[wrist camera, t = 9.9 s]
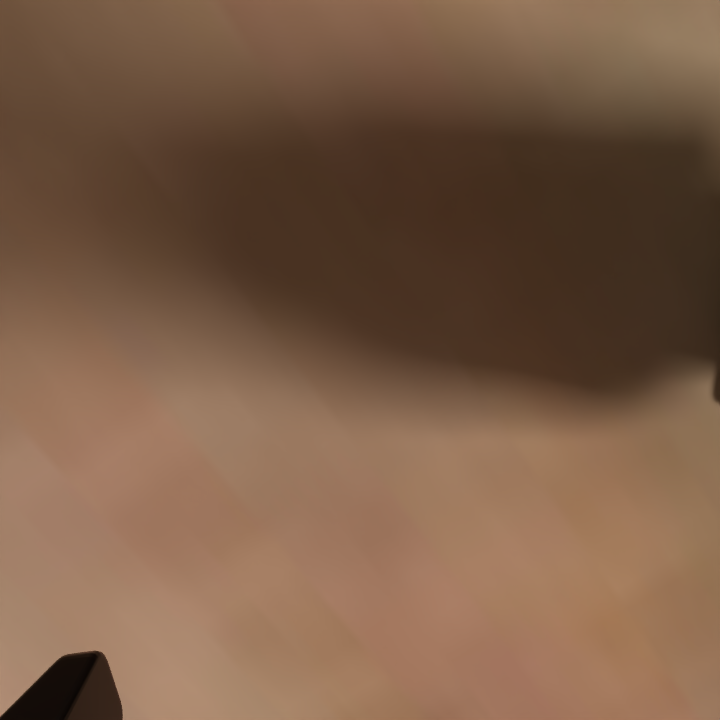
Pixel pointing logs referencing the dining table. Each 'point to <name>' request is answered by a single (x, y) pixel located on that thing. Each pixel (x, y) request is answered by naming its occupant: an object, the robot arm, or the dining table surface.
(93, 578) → the dining table surface
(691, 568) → the dining table surface
